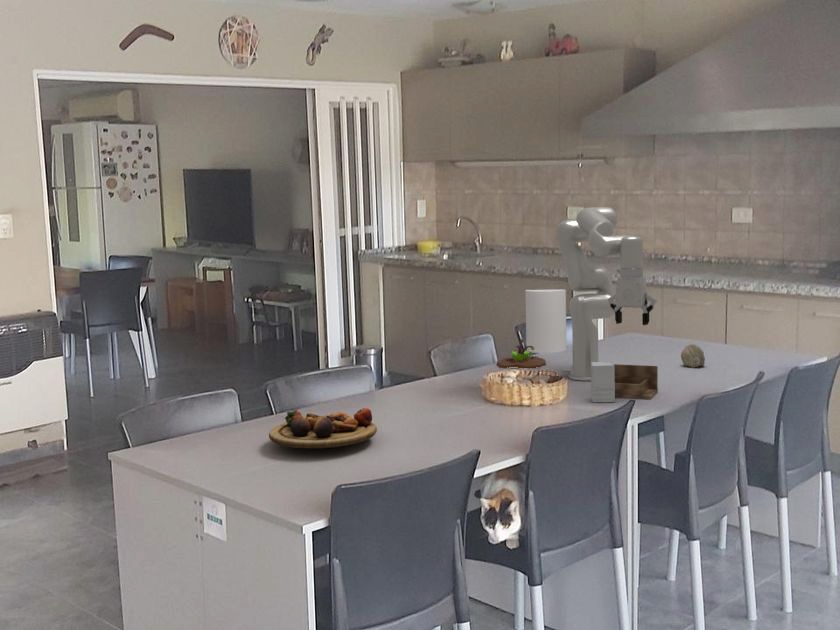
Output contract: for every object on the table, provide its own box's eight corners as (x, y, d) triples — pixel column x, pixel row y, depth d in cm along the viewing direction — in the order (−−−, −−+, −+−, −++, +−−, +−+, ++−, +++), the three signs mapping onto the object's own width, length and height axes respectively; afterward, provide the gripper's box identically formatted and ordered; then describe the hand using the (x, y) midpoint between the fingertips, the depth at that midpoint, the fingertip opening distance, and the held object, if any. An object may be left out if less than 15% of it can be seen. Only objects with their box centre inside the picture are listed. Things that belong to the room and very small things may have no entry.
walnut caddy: (597, 396, 335) (597, 370, 334) (606, 389, 347) (606, 363, 346) (650, 399, 328) (650, 372, 327) (657, 391, 340) (657, 365, 338)
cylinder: (565, 357, 417) (564, 291, 414) (524, 356, 421) (523, 291, 417) (567, 350, 434) (566, 287, 431) (528, 350, 438) (527, 288, 434)
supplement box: (612, 398, 332) (612, 361, 330) (615, 402, 325) (614, 364, 323) (590, 398, 333) (590, 361, 331) (592, 402, 325) (592, 365, 324)
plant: (550, 363, 405) (549, 336, 404) (542, 371, 387) (542, 343, 385) (502, 362, 411) (502, 335, 410) (492, 370, 393) (492, 342, 391)
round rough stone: (707, 370, 376) (707, 345, 375) (684, 371, 376) (684, 345, 375) (700, 366, 385) (700, 341, 384) (678, 367, 386) (678, 342, 384)
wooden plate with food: (377, 422, 309) (376, 396, 308) (376, 447, 277) (375, 419, 276) (275, 425, 308) (274, 400, 307) (262, 452, 276) (261, 423, 275)
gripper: (603, 273, 332) (603, 324, 333) (651, 274, 321) (651, 326, 323) (613, 272, 337) (613, 321, 339) (660, 273, 327) (660, 323, 329)
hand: (632, 323), depth 331 cm, fingers open, 9 cm apart
